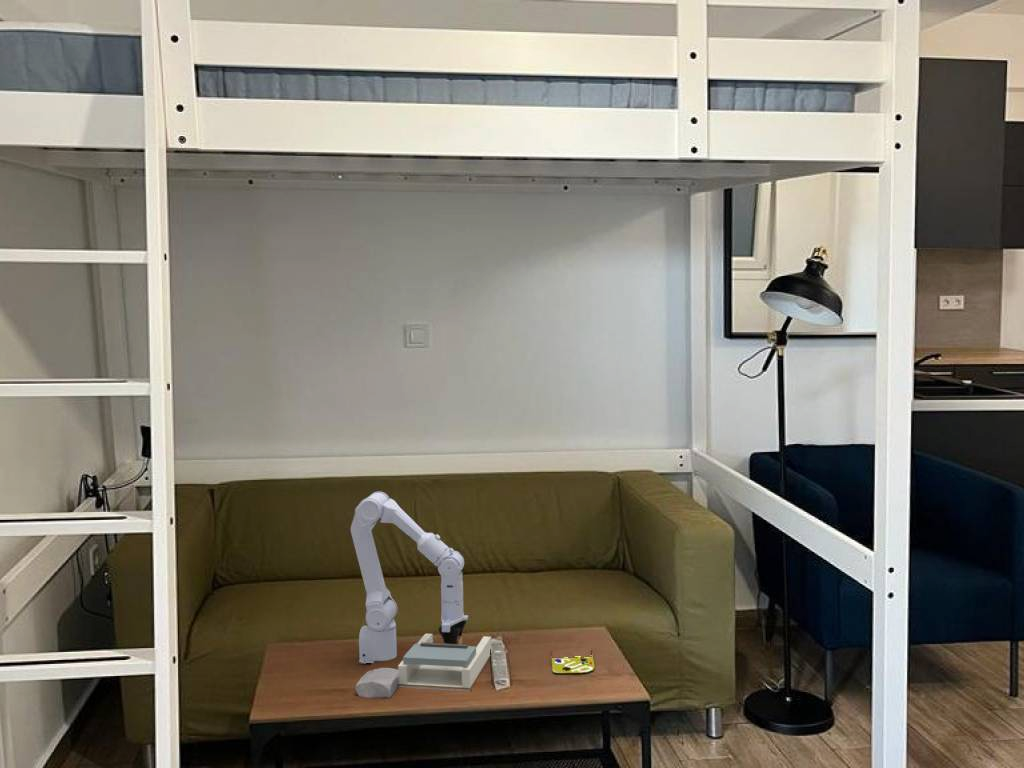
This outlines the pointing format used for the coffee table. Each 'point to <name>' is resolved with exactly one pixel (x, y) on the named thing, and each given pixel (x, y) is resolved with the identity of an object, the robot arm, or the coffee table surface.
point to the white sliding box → (445, 670)
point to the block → (459, 640)
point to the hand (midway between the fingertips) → (453, 650)
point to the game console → (572, 665)
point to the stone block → (378, 683)
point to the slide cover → (440, 654)
